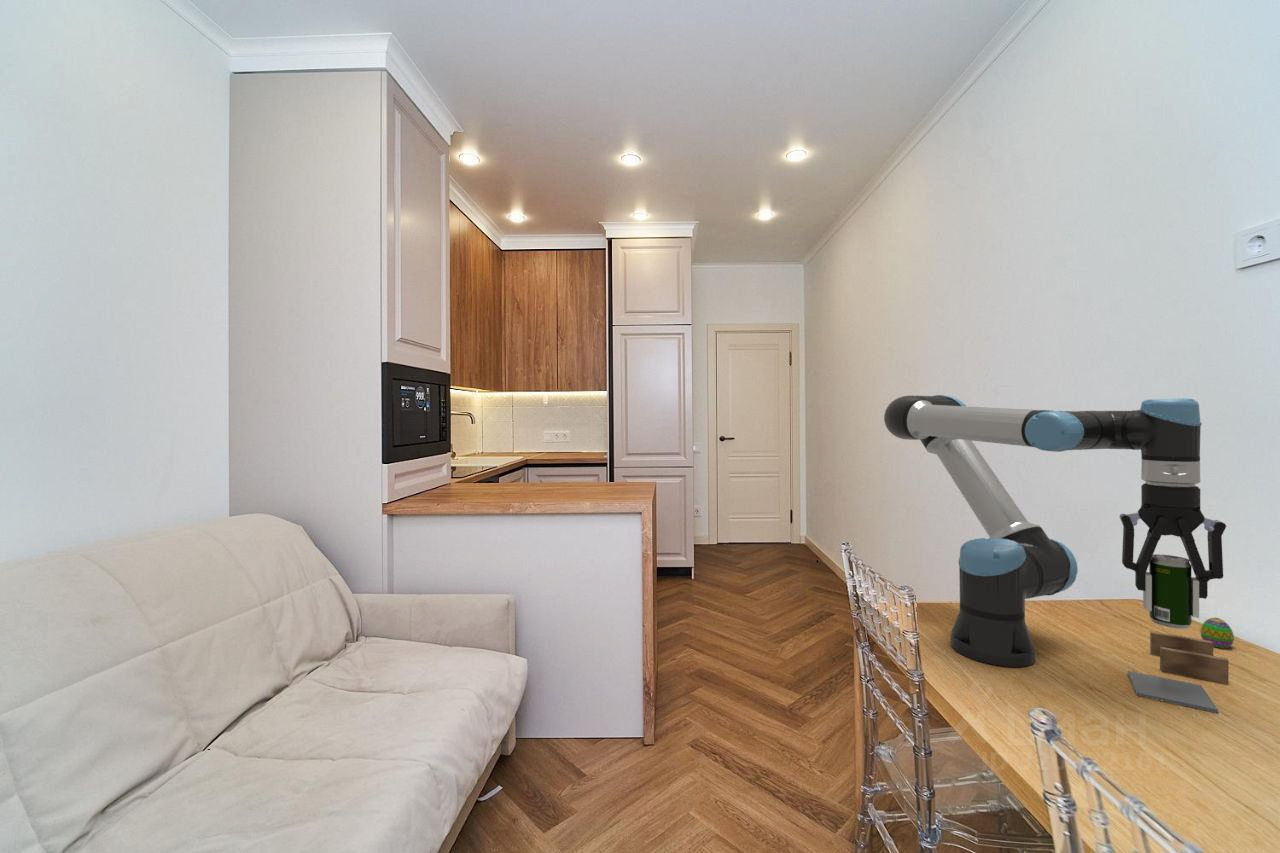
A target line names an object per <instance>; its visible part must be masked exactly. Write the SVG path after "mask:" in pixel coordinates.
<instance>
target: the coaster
mask: <svg viewBox="0 0 1280 853" xmlns="http://www.w3.org/2000/svg"><path fill="white" fill-rule="evenodd" d="M1127 675H1128V677H1129V681H1130V682H1131V685H1132V687H1133V690H1134V691H1136V692H1135V694H1136V696H1137V697H1140V696H1142V697H1141V698H1145V697H1148V698H1147V699H1149V698H1153V699H1152V700H1154V699H1158V700H1157V701H1159V700H1163V701H1167V702H1166V703H1168V702H1170V703H1169V704H1172V703H1174V705H1177V704H1178V706H1182V705H1184V706H1183V707H1186V706H1189V707H1188V708H1191V707H1193V708H1192V709H1195V708H1197V709H1196V710H1200V709H1201V710H1202V711H1205V710H1206V711H1205V712H1209V711H1210V713H1215V714H1219V709H1218V707H1217V706H1216V704H1215V703H1214V702H1213V700H1212V698H1211V697H1210V696H1209V694H1208V692H1207V691H1206V689H1204V687H1203V686H1202V684H1197V683H1192V682H1188V681H1187V682H1186V681H1181V680H1176V679H1171V678H1168V677H1167V678H1166V677H1161V676H1157V675H1152V674H1146V673H1143V672H1142V673H1141V672H1136V671H1133V670H1132V671H1130V670H1127ZM1163 701H1162V702H1163Z"/></svg>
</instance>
